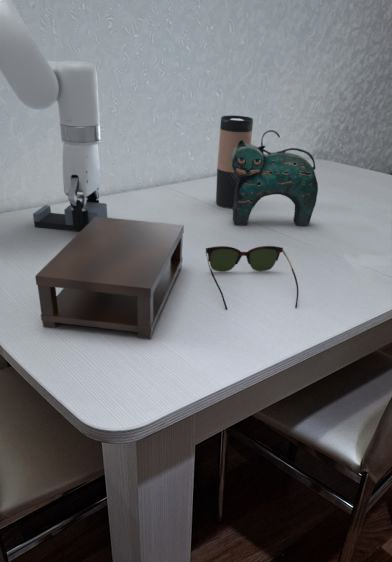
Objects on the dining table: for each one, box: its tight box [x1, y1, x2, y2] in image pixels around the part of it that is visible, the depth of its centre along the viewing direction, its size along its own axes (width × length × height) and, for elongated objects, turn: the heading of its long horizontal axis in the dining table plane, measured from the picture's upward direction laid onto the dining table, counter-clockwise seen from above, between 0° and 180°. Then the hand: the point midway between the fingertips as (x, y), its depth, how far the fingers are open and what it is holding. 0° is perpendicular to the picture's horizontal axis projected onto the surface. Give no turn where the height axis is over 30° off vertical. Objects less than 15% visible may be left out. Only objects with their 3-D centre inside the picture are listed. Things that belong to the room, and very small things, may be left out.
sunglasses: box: [205, 245, 299, 310], centre depth 85 cm, size 14×15×5 cm
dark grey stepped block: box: [32, 200, 108, 232], centre depth 107 cm, size 14×7×4 cm, turn 82°
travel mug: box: [215, 114, 254, 209], centre depth 122 cm, size 8×8×20 cm
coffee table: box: [35, 217, 185, 340], centre depth 80 cm, size 16×26×8 cm, turn 172°
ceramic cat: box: [231, 129, 319, 227], centre depth 111 cm, size 20×6×20 cm, turn 95°
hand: (87, 222), depth 108 cm, fingers closed on dark grey stepped block, 6 cm apart
